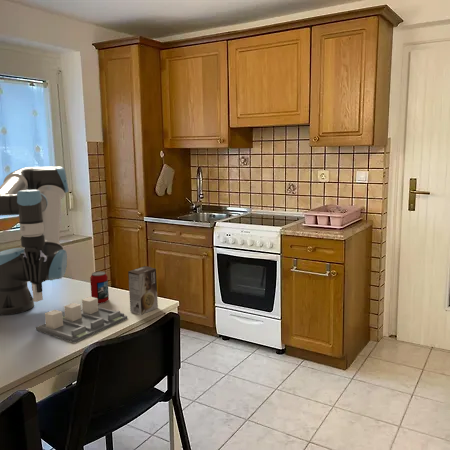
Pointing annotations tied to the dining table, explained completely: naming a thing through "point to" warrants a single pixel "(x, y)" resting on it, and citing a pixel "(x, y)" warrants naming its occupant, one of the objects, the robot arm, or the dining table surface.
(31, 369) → the dining table surface
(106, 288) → the beverage can
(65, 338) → the switch board
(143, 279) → the coffee box
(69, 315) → the beige block
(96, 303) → the cream white block
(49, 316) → the beige block
